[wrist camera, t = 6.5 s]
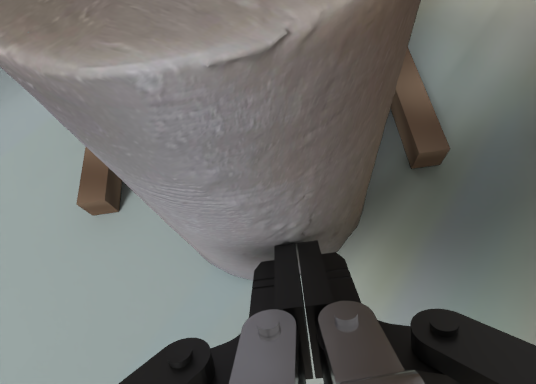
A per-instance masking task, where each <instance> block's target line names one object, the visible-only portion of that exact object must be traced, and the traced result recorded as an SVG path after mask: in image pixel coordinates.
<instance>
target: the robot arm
mask: <svg viewBox="0 0 536 384" xmlns="http://www.w3.org/2000/svg"><path fill="white" fill-rule="evenodd" d="M297 247H298V255H299V262H300V270H301V278H302V285H303V293H304V301H305V308H306V315H307V322H308V329H309V335H310V342H311V349H312V356H313V363H314V370H315V377H316V378H323V380H324V384H536V346H535V345H533V344H530V343H528V342H526V341H523V340H521V339H518V338H516V337H514V336H511V335H509V334H507V333H504V332H502V331H500V330H497V329H495V328H492V327H490V326H488V325H485V324H483V323H481V322H478V321H476V320H474V319H471V318H469V317H467V316H464V315H462V314H459V313H457V312H454V311H450V310H445V309H428V310H424V311H421V312H419V313H417V314H416V315H415V316H414V317H413V318H412V320H411V326H403V325H395V324H389V323H385V322H382V321H379V320H377V318H376V317H375V315H374V313H373V312H372V310H371V309H370V308H369V307H367V306H366V305H364V304H362V303H361V301H360V298H359V296H358V293H357V291H356V288H355V285H354V283H353V280H352V278H351V275H350V272H349V270H348V267H347V264H346V262H345V259H344V258H342V257H341V256H340V255H338V254H337V253H336V252H333V253H325V254H321V251H320V247H319V243H318V240H315V241H307V242H300V243H297ZM252 289H253V290H252V295H251V305H250V314H249V319H247V321H246V322H245V323H244V325H243V327H242V331H241V334H240V335H239V336H237V337H236V338H234V339H233V340H231V341H229V342H227V343H224V344H222V345H219V346H216V347H214V348H211V349H210V347H209V345H208V344H207V342H205V341H204V340H202V339H198V338H186V339H181V340H178V341H176V342H173V343H172V344H170V345H168V346H167V347H165V348H164V349H163V350H161V351H160V352H159V353H157V354H156V355H155V356H154V357H152V358H151V359H150V360H148V361H147V362H146V363H145V364H143V365H142V366H141V367H139V368H138V369H137V370H136V371H134V372H133V373H132V374H130V375H129V376H128V377H127V378H125V379H124V380H123V381H122V382H120V383H119V384H306V379H313V373H312V365H311V357H310V349H309V341H308V333H307V325H306V317H305V309H304V301H303V293H302V286H301V279H300V273H299V266H298V259H297V252H296V246H295V243H292V244H284V245H277V246H274V260H271V261H263V262H261V263H260V264H259V265H258V266H257V268H256V269H255V270H254V277H253V286H252Z"/></svg>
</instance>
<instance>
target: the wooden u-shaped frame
mask: <svg viewBox="0 0 536 384" xmlns="http://www.w3.org/2000/svg"><path fill="white" fill-rule="evenodd" d="M390 108H391V111H392V114H393V117H394V120H395V123H396V126H397V129H398V132H399V134H400V137H401V140H402V143H403V146H404V149H405V152H406V155H407V158H408V160H409V163H410V166H411V169H414V168H421V167H427V166H434V165H440V164H441V162H442V161H443V159H444V158H445V156H446V155H447V153H448V152H449V150H450V147H449V145H448V142H447V140H446V137H445V135H444V133H443V130H442V128H441V125H440V123H439V121H438V118H437V116H436V113H435V111H434V109H433V106H432V104H431V102H430V99H429V97H428V94H427V92H426V90H425V87H424V85H423V82H422V80H421V78H420V75H419V73H418V70H417V68H416V66H415V63H414V61H413V58H412V56H411V54H410V51H409V49H408V47H407V50H406V54H405V58H404V61H403V65H402V69H401V71H400V75H399V78H398V81H397V85H396V89H395V93H394V96H393V99H392V103H391V107H390ZM121 185H122V180H121V179H120V178H119V177H118V176H117V175H116V174H115V173H114V172H113V171H112V170H110V169H109V168H108V167H107V166H106V165H105V164H104V163H103V162H102V161H101V160H100V159H99V158H98V157H96V156H95V155H94V154H93V153H92V152H91V151H90V150H89V149H88V148H87V147H86V148H85V154H84V161H83V167H82V173H81V179H80V186H79V192H78V198H77V205H78V206H80V207H81V208H83V209H84V210H86V211H87V212H88V213H90V214H91V215H99V214H106V213H113V212H119V206H120V196H121Z"/></svg>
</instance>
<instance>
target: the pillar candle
mask: <svg viewBox="0 0 536 384" xmlns="http://www.w3.org/2000/svg"><path fill="white" fill-rule="evenodd" d="M420 1H421V0H0V66H1V68H2V69H3V70H4V71H6V72H7V73H8V74H9V75H10V76H11V77H12V78H13V79H15V80H16V81H17V82H18V83H19V84H20V85H21V86H22V87H24V88H25V89H26V90H27V91H28V92H29V93H30V94H31V95H32V96H33V97H35V98H36V99H37V100H38V101H39V102H40V103H41V104H42V105H43V106H44V107H45V108H46V109H47V110H48V111H49V112H50V113H51V114H52V115H53V116H54V117H55V118H56V119H57V120H58V121H59V122H60V123H61V124H62V125H63V126H64V127H66V128H67V129H68V130H69V131H70V132H71V133H72V134H73V135H74V136H75V137H76V138H78V139H79V140H80V141H81V142H82V143H83V144H84V145H85V146H86V147H87V148H88V149H89V150H90V151H91V152H92V153H93V154H94V155H95V156H96V157H98V158H99V159H100V160H101V161H102V162H103V163H104V164H105V165H106V166H107V167H108V168H109V169H110V170H112V171H113V172H114V173H115V174H116V175H117V176H118V177H119V178H120V179H121V180H122V181H123V182H124V183H125V184H126V185H127V186H128V187H129V188H130V189H131V190H133V191H134V192H135V193H136V194H137V195H138V196H139V197H140V198H141V199H142V200H143V201H144V202H145V203H146V204H147V205H148V206H149V207H150V208H151V209H152V210H154V211H155V212H156V213H157V214H158V215H159V216H160V217H161V218H162V219H163V220H164V221H165V222H166V223H167V224H168V225H169V226H170V227H171V228H172V229H174V230H175V231H176V232H177V233H178V234H179V235H180V236H181V237H182V238H184V239H185V240H186V241H187V242H188V243H189V244H190V245H191V246H192V247H193V248H194V249H195V250H197V251H198V252H199V254H200V255H201V256H203V257H204V258H205V259H206V260H207V261H208V262H210V263H211V264H213V265H214V266H216V267H218V268H220V269H222V270H224V271H225V272H227V273H229V274H231V275H234V276H237V277H241V278H245V279H249V280H253V277H254V270H255V269H256V268H257V266H258V265H259V264H260V263H261V262H263V261H271V260H274V246H277V245H284V244H292V243H295V246H296V252H297V259H298V266H299V273H300V275H301V270H300V262H299V255H298V247H297V243H300V242H307V241H315V240H318V243H319V247H320V251H321V254H325V253H333V252H337V251H338V250H339V249H340V248H341V247H342V245H343V244H344V242H345V241H346V239H347V238H348V237H349V236H350V235H351V233H352V232H353V231H354V229H355V228H356V227H357V225H358V223H359V221H360V217H361V213H362V210H363V206H364V202H365V197H366V193H367V188H368V185H369V182H370V178H371V174H372V171H373V167H374V165H375V160H376V156H377V152H378V149H379V145H380V142H381V139H382V135H383V132H384V127H385V124H386V120H387V118H388V114H389V111H390V107H391V103H392V99H393V96H394V93H395V89H396V85H397V81H398V78H399V75H400V71H401V69H402V65H403V61H404V58H405V54H406V50H407V47H408V43H409V40H410V36H411V33H412V29H413V26H414V22H415V19H416V15H417V11H418V8H419V4H420Z"/></svg>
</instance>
